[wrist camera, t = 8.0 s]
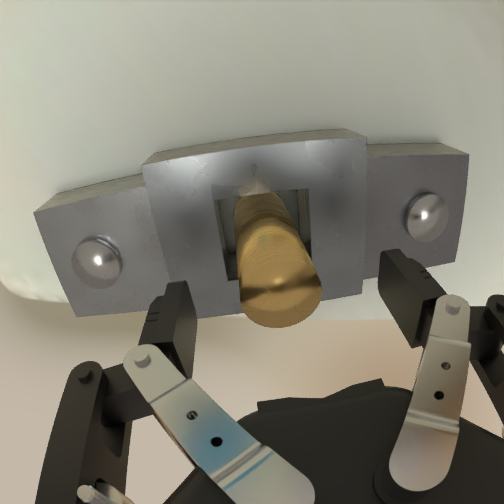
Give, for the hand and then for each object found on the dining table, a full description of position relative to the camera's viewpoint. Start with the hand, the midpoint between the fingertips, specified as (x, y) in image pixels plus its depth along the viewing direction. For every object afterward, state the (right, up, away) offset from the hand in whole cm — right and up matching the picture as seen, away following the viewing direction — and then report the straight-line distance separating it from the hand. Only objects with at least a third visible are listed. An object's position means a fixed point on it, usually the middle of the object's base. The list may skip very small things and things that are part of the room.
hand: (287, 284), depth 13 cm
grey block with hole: (-1, +3, +6) cm, 7 cm away
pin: (-1, +3, +6) cm, 7 cm away
